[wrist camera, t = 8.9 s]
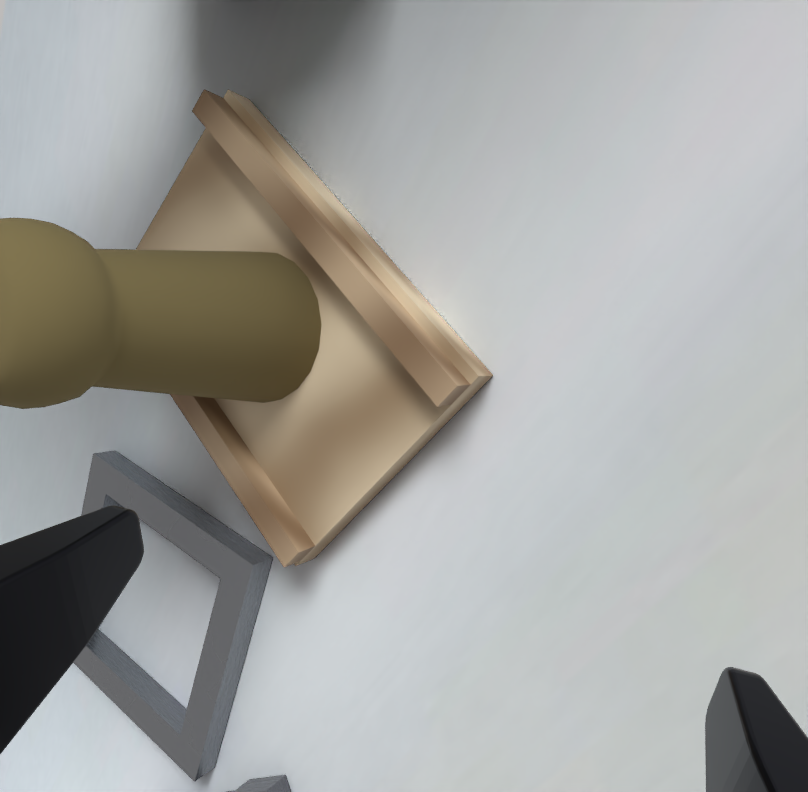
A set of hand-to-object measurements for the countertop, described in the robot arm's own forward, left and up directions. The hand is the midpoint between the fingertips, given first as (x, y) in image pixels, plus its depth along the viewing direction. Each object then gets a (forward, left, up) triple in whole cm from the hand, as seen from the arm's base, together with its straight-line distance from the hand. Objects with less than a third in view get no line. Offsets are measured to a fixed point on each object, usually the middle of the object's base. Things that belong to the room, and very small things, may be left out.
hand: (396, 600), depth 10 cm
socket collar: (-3, +23, -13) cm, 26 cm away
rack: (+8, +12, -13) cm, 19 cm away
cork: (+8, +12, -11) cm, 18 cm away
